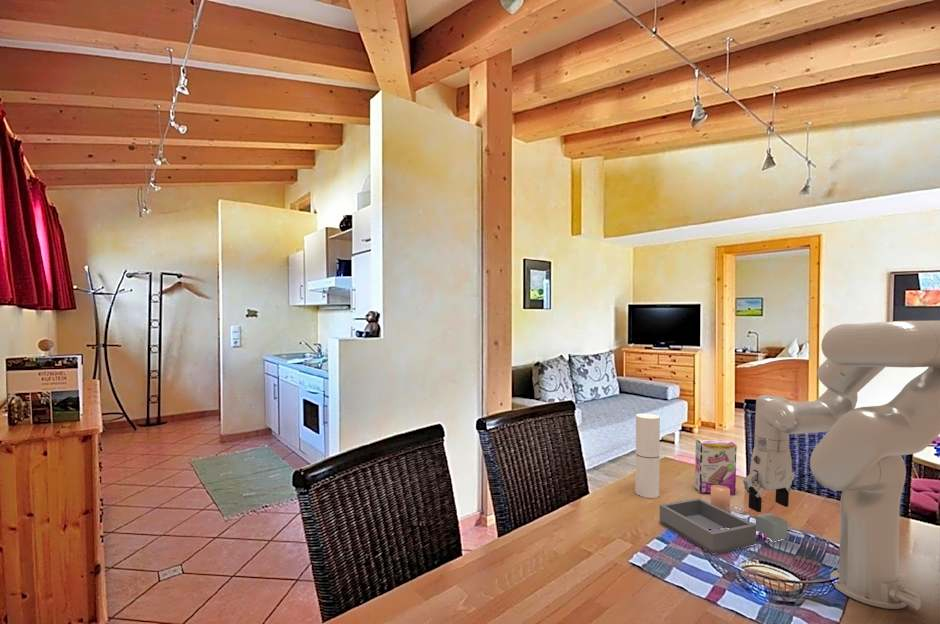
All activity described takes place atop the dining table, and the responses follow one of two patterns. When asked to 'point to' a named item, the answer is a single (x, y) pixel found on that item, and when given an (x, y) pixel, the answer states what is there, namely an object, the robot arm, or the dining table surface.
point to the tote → (707, 525)
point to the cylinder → (720, 497)
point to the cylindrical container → (647, 455)
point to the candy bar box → (715, 465)
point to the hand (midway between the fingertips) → (768, 507)
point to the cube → (772, 526)
